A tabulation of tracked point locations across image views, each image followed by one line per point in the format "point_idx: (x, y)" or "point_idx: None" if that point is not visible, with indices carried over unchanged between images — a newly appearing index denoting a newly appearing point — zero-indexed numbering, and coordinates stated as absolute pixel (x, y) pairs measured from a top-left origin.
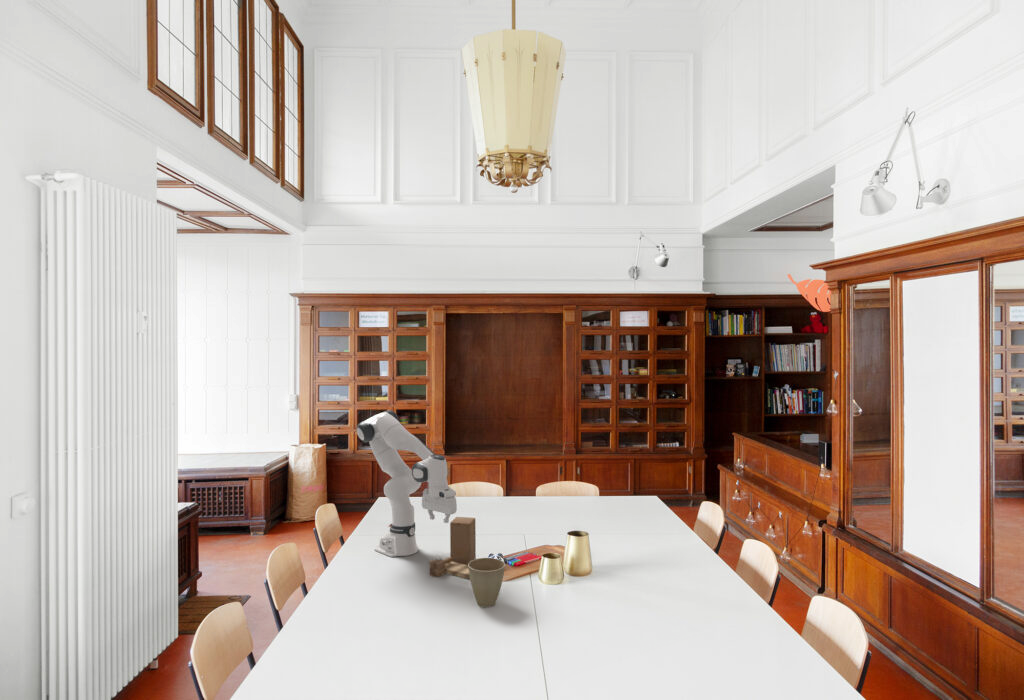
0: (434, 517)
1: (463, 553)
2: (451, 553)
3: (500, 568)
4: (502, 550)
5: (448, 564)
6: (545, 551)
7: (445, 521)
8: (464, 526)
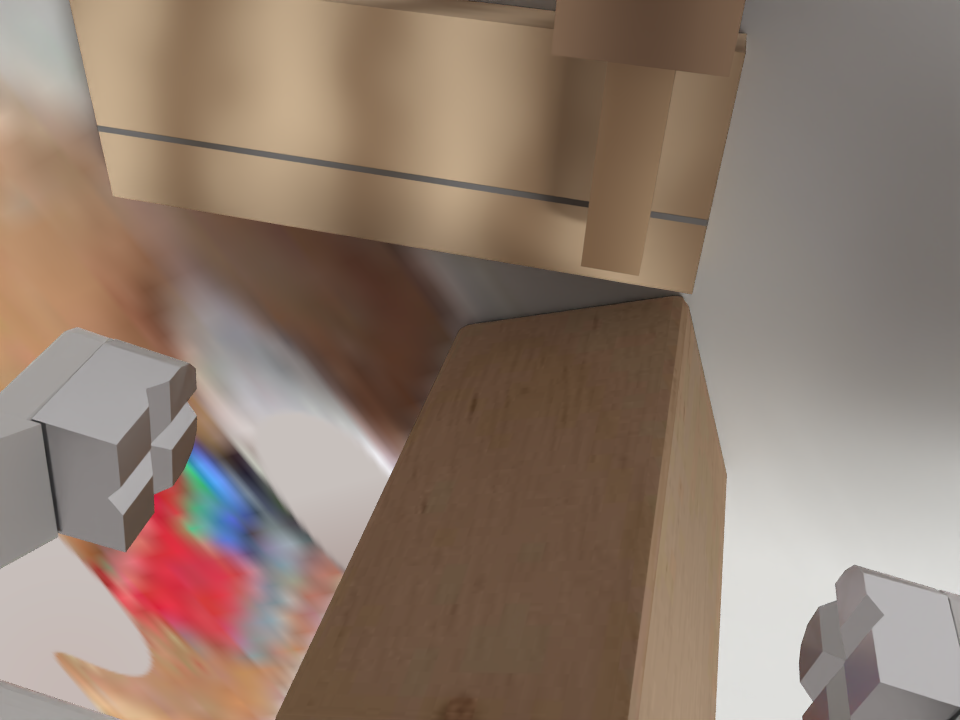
0: (806, 683)
1: (501, 390)
2: (658, 367)
3: None
4: None
5: None
6: (167, 679)
7: (60, 357)
8: (373, 683)
